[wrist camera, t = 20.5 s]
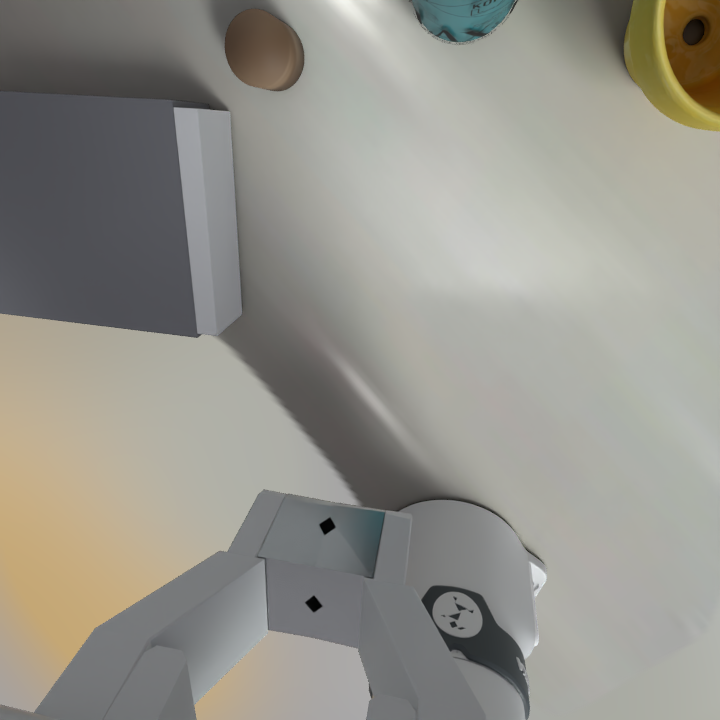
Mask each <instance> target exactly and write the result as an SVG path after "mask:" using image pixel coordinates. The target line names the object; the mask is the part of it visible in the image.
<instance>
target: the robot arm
mask: <svg viewBox="0 0 720 720" xmlns="http://www.w3.org/2000/svg"><path fill="white" fill-rule="evenodd" d="M546 580H547V570H546V567H545V565H544V564H543V563H542V562H541V561H540V560H539V559H537V558H536V557H535V556H533V555H532V554H530V553H529V552H527V551H526V549H525V548H524V547H523V545H522V543H521V542H520V540H519V538H518V536H517V535H516V533H515V532H514V531H513V529H512V528H511V527H510V526H509V525H508V524H507V523H506V522H505V521H503V520H502V519H501V518H500V517H498V516H497V515H495V514H493V513H492V512H490V511H488V510H486V509H484V508H481V507H479V506H476V505H473V504H470V503H465V502H460V501H454V500H431V501H424V502H420V503H416V504H413V505H410V506H408V507H406V508H404V509H402V510H400V511H398V512H395V511H389V510H381V509H374V508H368V507H362V506H355V505H348V504H342V503H335V502H330V501H324V500H319V499H314V498H309V497H304V496H298V495H293V494H284V493H279V492H274V491H269V490H263V491H262V492H261V493H259V494H258V496H257V498H256V500H255V502H254V503H253V505H252V507H251V509H250V511H249V513H248V515H247V516H246V518H245V520H244V522H243V524H242V526H241V528H240V529H239V531H238V533H237V535H236V537H235V539H234V541H233V542H232V544H231V546H230V548H229V550H228V552H224V551H219V552H217V553H215V554H214V555H212V556H211V557H209V558H207V559H206V560H204V561H203V562H201V563H199V564H198V565H196V566H194V567H193V568H191V569H190V570H188V571H186V572H185V573H183V574H182V575H180V576H178V577H177V578H175V579H174V580H172V581H170V582H169V583H167V584H166V585H164V586H163V587H161V588H159V589H158V590H156V591H154V592H153V593H151V594H150V595H148V596H146V597H145V598H143V599H142V600H140V601H138V602H137V603H135V604H133V605H132V606H130V607H129V608H127V609H126V610H124V611H122V612H121V613H119V614H117V615H116V616H114V617H113V618H111V619H109V620H108V621H106V622H105V623H103V624H102V625H100V626H98V627H97V628H95V629H94V631H93V632H92V633H91V635H90V636H89V637H88V639H87V640H86V642H85V643H84V644H83V646H82V647H81V648H80V650H79V651H78V653H77V654H76V655H75V657H74V658H73V659H72V661H71V663H70V664H69V665H68V666H67V668H66V669H65V670H64V672H63V673H62V675H61V676H60V677H59V679H58V680H57V681H56V683H55V684H54V686H53V687H52V688H51V690H50V691H49V693H48V694H47V695H46V697H45V698H44V699H43V701H42V702H41V703H40V705H39V706H38V708H37V709H36V710H35V712H34V713H33V712H29V711H25V710H21V709H17V708H13V707H9V706H5V705H0V720H196V714H195V708H194V705H195V704H196V702H198V701H199V699H201V698H202V697H203V696H204V695H205V694H206V693H207V692H208V691H209V690H210V689H211V688H212V687H213V686H214V685H215V684H216V683H217V682H218V681H219V680H220V679H221V678H222V677H223V676H224V675H225V674H226V673H227V672H228V671H230V669H231V668H233V667H234V665H236V664H237V663H238V662H239V661H240V660H241V659H242V658H243V657H244V656H245V655H246V654H247V653H248V652H249V651H250V650H251V649H252V648H253V647H254V646H255V645H256V644H257V643H258V642H259V641H260V640H261V639H262V638H263V637H264V636H266V634H268V630H271V631H277V632H283V633H289V634H294V635H300V636H306V637H311V638H316V639H320V640H324V641H329V642H333V643H337V644H341V645H346V646H350V647H354V648H358V652H359V655H360V658H361V661H362V663H363V666H364V670H365V673H366V676H367V679H368V682H369V692H370V696H371V698H372V699H371V700H370V701H369V706H368V712H367V718H366V720H527V719H528V717H529V710H530V705H529V695H530V688H529V679H528V675H527V672H526V667H525V659H526V658H527V657H528V656H529V655H530V654H531V652H532V650H533V648H534V646H537V645H538V641H539V633H538V624H537V614H536V604H535V597H536V596H537V594H538V592H539V591H540V589H541V588H542V586H543V585H544V583H545V582H546Z"/></svg>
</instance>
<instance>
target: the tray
mask: <svg viewBox="0 0 720 720" xmlns="http://www.w3.org/2000/svg"><path fill="white" fill-rule="evenodd" d="M173 108H174V118H175V127H176V136H177V146H178V155H179V165H180V174H181V183H182V193H183V202H184V212H185V221H186V230H187V240H188V249H189V259H190V268H191V277H192V287H193V296H194V306H195V315H196V324H197V334H206V335H214V336H218V335H219V334H220V333H221V332H222V331H224V330H225V329H226V328H227V327H228V326H229V325H231V324H232V323H233V322H234V321H235V320H236V319H237V318H239V317H240V316H241V315H242V301H241V284H240V268H239V251H238V235H237V218H236V201H235V185H234V168H233V152H232V135H231V119H230V111H219V110H208V109H195V108H177V107H173Z"/></svg>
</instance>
